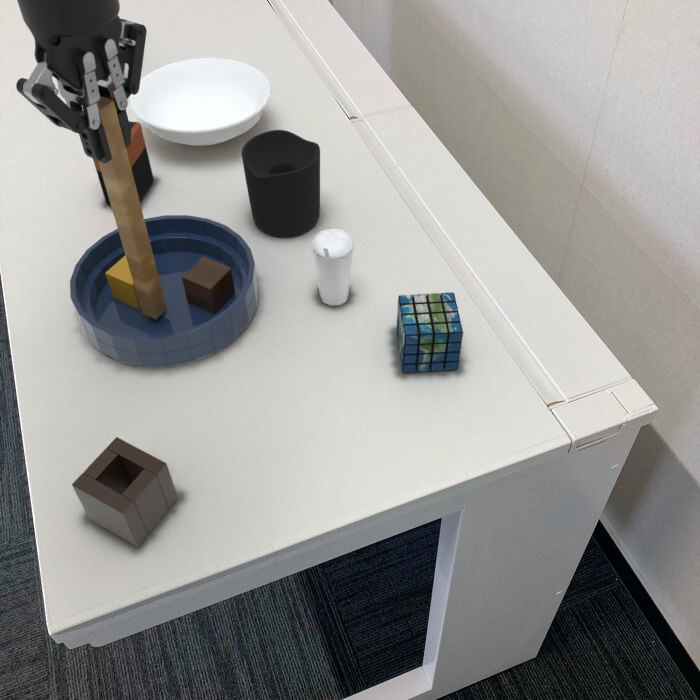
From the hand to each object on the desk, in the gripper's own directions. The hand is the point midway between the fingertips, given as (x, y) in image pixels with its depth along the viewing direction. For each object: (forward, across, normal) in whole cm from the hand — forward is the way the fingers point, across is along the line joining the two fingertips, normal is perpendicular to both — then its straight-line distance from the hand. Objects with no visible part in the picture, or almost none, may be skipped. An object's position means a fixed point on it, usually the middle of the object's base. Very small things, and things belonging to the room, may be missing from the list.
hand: (110, 151), depth 71 cm
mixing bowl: (+22, -3, 0) cm, 23 cm away
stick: (+21, 0, 0) cm, 21 cm away
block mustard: (+22, -2, -4) cm, 22 cm away
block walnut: (+22, -6, +4) cm, 23 cm away
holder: (+22, +20, +14) cm, 33 cm away
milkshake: (+23, -13, +16) cm, 30 cm away
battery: (+23, -17, -18) cm, 34 cm away
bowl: (+23, -34, -18) cm, 45 cm away
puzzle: (+23, -11, +29) cm, 38 cm away
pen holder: (+23, -23, +3) cm, 32 cm away
